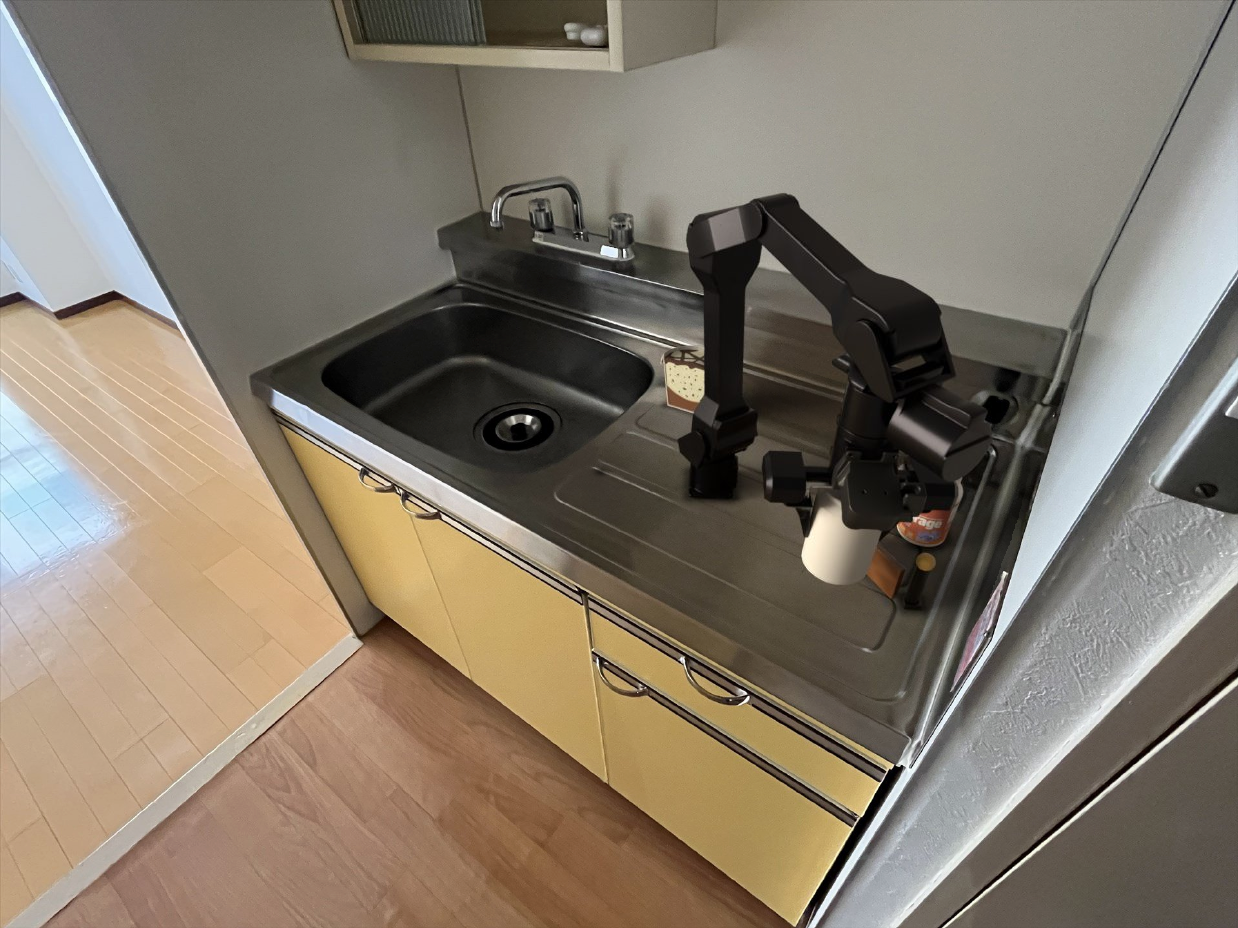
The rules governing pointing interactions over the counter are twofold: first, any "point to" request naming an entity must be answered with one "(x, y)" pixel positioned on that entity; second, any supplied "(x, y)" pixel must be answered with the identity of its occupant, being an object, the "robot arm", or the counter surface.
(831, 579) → the can
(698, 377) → the food container
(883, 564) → the door
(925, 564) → the yellow topped black post
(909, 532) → the pill bottle
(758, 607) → the counter surface
